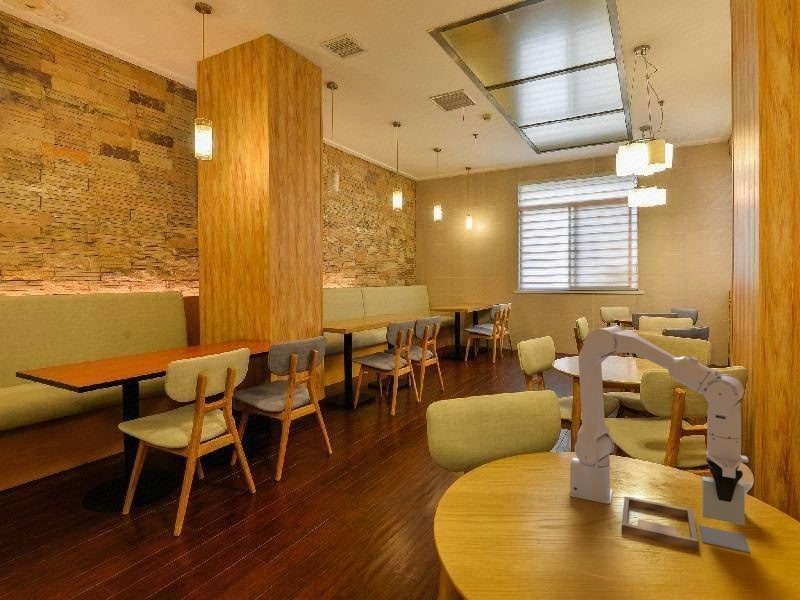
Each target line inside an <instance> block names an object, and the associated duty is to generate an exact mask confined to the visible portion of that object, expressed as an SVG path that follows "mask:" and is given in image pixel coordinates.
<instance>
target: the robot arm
mask: <svg viewBox="0 0 800 600" xmlns="http://www.w3.org/2000/svg"><path fill="white" fill-rule="evenodd" d="M614 353H616V354H625V353H627V354H628V353H629V354H630V353H632V354H635V355H637V356H639V357H641V358H644V359H646V361H648V362H649V361H650V362H652V363H654V364H656V365H657V366H659V367H662V368H664V369H666V370H667V371H668V373H669V375H670V378H671V379H673V380H674V381H677V382H678V383H680V384H681V385H683V386H686V387H687V388H689V389H691V390H693V391H695V392H696V393H698V394H700V395H703V396H704V399H705V401H706V402H707V416H706V417H707V423H706V424H707V426H706V427H707V435H706V439H707V440H706V441H707V444H706V445H707V446H706V447H707V449H706V452H705V453H706V454H705V456H706V458H705V460H706V463H707V465H708V467H707V468H708V469H709V472H710V473H711V475H712V478H714V481H715V485H716V491H717V496H718V499H719V500H721V501H727V502H731V500H732V498H733V494H734V490H735V487H736V485H737V483H738V481H739V480H740V479H741V478H742V476H743V473H742V471H739V470H737V469H738V467H739V465H740V464H741V463H749V458H748V456H747V455H742V413H741V409H742V408H741V407H742V406H741V401H740V400H741V399H742V398H743V396H744V392H745V388H744V385H743V384H742V382H741V381H740V380H738V379H737V378H736V377H735V376H734V375H732V374H727V373H724V374H722V371H721V370H718V369H716V370H714V369H711V368H710V367H708V366H706V365H704V364H702V363H700V362H698V361H699V359H698V358H696V357H694V356H691V357H688V356H685V355H683V356H679V357H678V356H675V355H673V354H671V353H670V352H668V351H666V350H664V349H663V348H661V347H659V346H658V345H656V344H654V343H652V342H650V341H649V340H647V339H645V338H643V337H642V336H640V335H639V334H637V333H636V332H634V331H632V330H630V329H625V328H624V327H622V326H620V325H616V324H615V325H610V326H608V327H603V328H597V329H594V330H593V331H591V332H590V333H589V334H587V335H586V336H585V342H584V344H583V346H582V348H581V350H580V351H579V353H578V375H579V391H580V407H581V410H580V411H581V425H580V428H579V429H578V432H577V434H576V436H577V437H576V438H577V439H576V442H575V444H574V453H575V456H576V457H575V456H573V457H571V459H570V464H569V465H570V467H569V471H570V472H569V474H570V475H569V485H570V488H569V489H570V491H569V492H570V493H569V495H570V497H573V498H577V499H582V500H586V501H592V502H595V503H602V504H605V505H611V503H612V497H613V493H614V490H613V489H612V488H611V465H610V464H611V463H610V462H611V459H610V455H611V454H612V453H613V452H614V448H615V443H614V441H613V439H612V437H611V434H610V428H609V427H608V425H607V424H606V421H605V404H604V388H603V372H602V363H603V362H604V361H605V360H606V359H608V358H609V357H610V356H611V355H612V354H614Z"/></svg>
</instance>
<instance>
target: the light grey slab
mask: <svg viewBox="0 0 800 600" xmlns="http://www.w3.org/2000/svg"><path fill="white" fill-rule="evenodd" d="M701 477H702V478H701V479H702V481H701V489H702V490H701V493H702V495H701V496H702V497H701V499H702V500H701V502H702V505H701V507H702V508H701V509H702V510H701V512H702V517H703V518H706V519H712V520H716V521H721V522H727V523H732V524H737V525H741V526H745V498H746V495H745V487H744V485H743V483H741V482H738V483H737V485H736V487H735V490H734V494H733V498H732V500H731V502H727V501H721V500H719V499H718V496H717V491H716V485H715V481H714V478H713V477H710V476H701Z"/></svg>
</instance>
